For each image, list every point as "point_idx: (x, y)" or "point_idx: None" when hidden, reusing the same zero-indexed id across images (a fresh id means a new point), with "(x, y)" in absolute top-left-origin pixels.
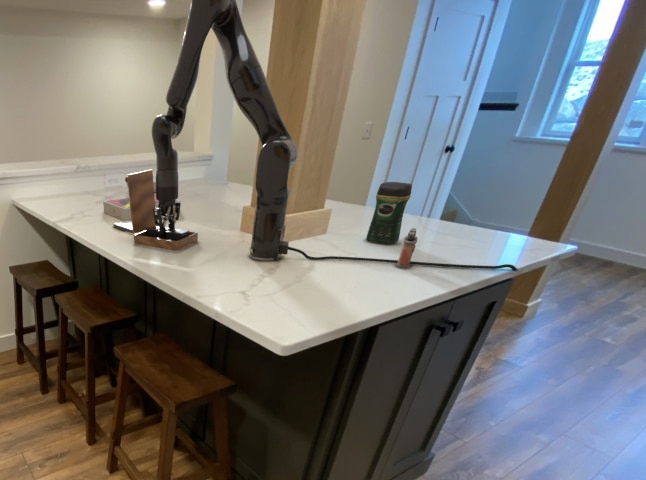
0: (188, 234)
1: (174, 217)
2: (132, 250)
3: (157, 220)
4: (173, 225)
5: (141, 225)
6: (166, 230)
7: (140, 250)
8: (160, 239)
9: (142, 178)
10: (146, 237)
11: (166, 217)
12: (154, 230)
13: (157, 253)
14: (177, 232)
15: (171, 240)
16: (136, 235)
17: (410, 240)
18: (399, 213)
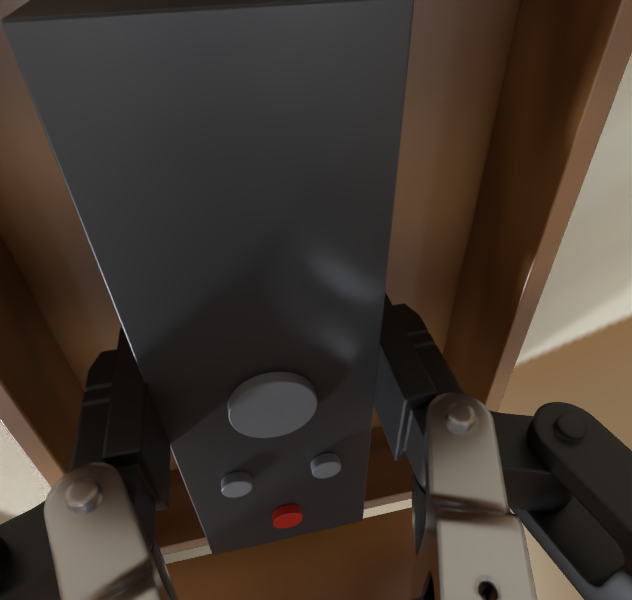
0: (48, 1)
1: (100, 585)
2: (568, 335)
3: (554, 542)
4: (145, 427)
5: (381, 571)
6: (315, 375)
7: (555, 296)
8: (559, 234)
9: None
10: (500, 390)
11: (526, 561)
12: (368, 456)
13: (627, 106)
14: (343, 160)
15: (614, 40)
16: None
17: None
18: None
